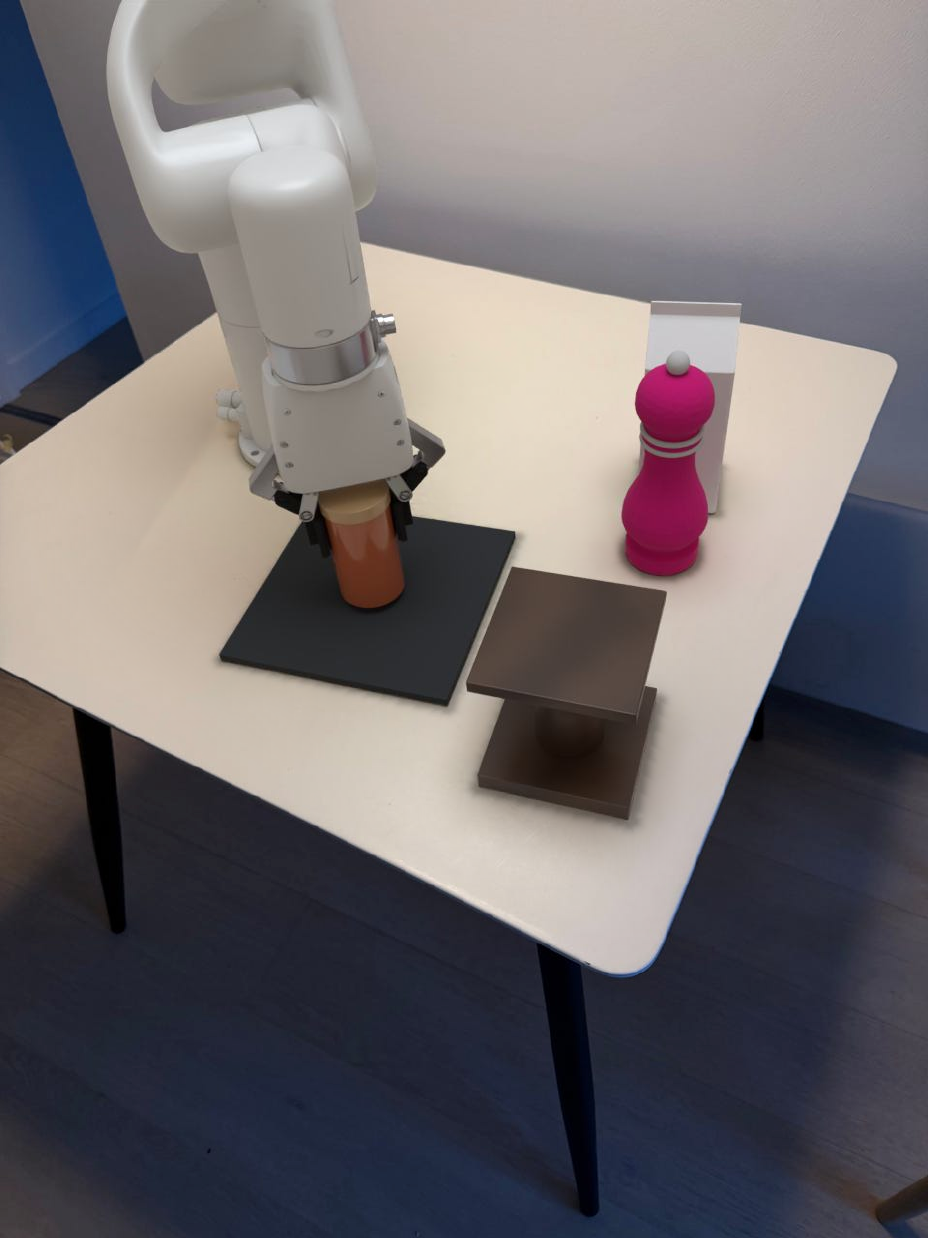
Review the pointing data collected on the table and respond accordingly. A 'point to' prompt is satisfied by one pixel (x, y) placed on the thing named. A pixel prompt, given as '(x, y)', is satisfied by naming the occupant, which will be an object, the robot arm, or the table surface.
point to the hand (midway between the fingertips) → (362, 537)
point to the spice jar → (363, 542)
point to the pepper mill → (668, 468)
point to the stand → (569, 689)
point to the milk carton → (712, 350)
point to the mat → (377, 614)
